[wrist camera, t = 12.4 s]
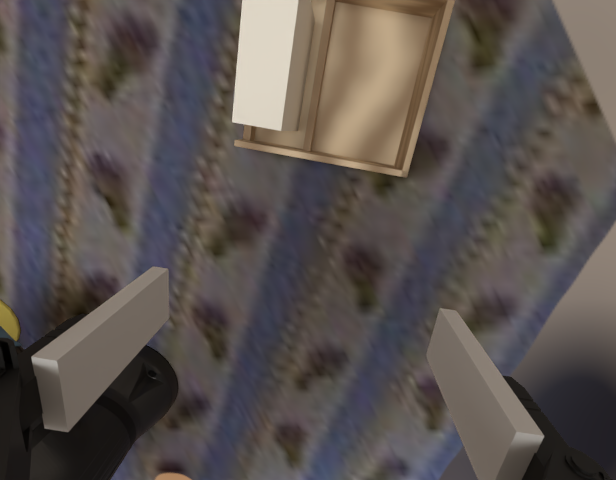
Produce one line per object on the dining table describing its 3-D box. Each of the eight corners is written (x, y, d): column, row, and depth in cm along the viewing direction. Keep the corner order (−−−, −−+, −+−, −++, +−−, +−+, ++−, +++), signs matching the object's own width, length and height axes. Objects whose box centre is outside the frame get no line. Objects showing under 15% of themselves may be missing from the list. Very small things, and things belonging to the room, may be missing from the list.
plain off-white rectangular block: (261, 124, 37) (228, 121, 26) (274, 13, 33) (242, -47, 22) (298, 131, 37) (280, 131, 26) (315, 20, 33) (303, -37, 22)
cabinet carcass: (249, 143, 39) (234, 145, 33) (265, -14, 34) (251, -43, 28) (396, 170, 38) (406, 177, 33) (436, 15, 33) (457, -9, 27)
